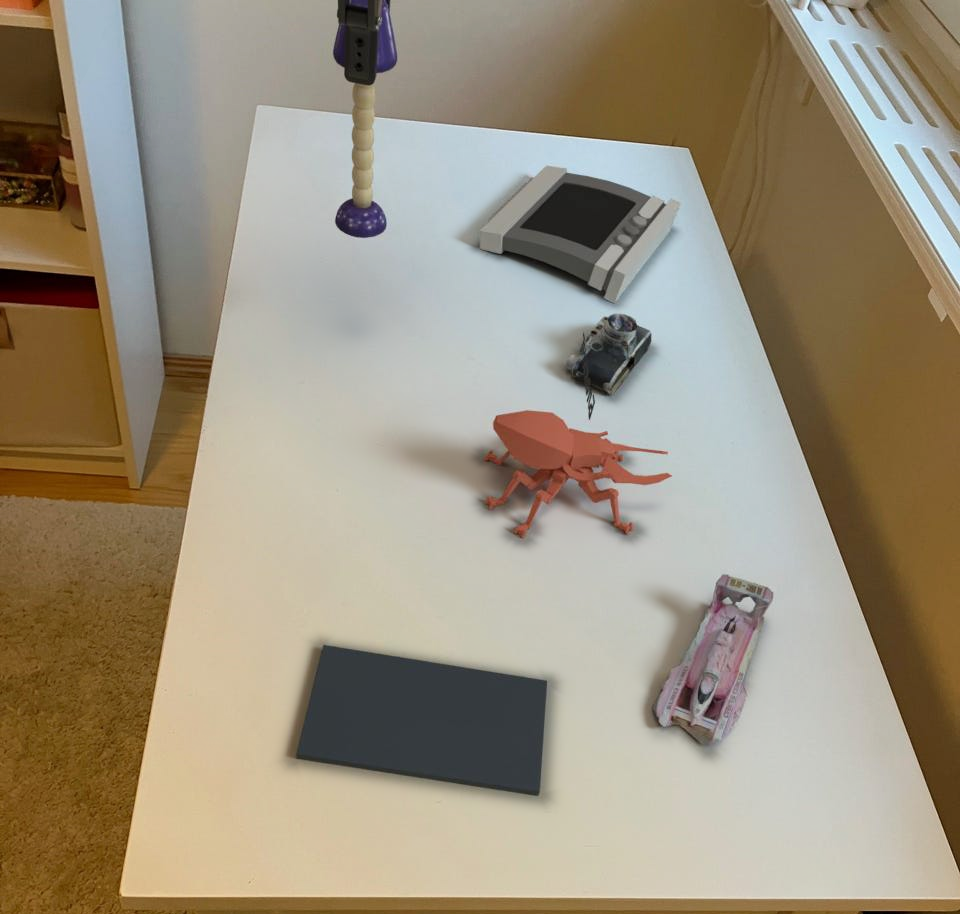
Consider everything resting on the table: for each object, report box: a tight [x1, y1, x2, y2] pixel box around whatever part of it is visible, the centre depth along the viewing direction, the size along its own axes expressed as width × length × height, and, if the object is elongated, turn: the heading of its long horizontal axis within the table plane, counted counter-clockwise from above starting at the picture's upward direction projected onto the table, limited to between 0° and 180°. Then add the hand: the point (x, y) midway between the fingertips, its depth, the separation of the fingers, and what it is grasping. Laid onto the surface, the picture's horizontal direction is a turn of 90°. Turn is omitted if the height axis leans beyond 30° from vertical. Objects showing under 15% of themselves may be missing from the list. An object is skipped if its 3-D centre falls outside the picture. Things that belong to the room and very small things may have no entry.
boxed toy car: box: [652, 574, 774, 747], centre depth 72 cm, size 13×6×4 cm, turn 155°
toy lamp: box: [332, 0, 398, 239], centre depth 76 cm, size 5×5×17 cm
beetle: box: [483, 331, 673, 539], centre depth 79 cm, size 15×12×13 cm
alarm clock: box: [479, 165, 682, 304], centre depth 106 cm, size 17×5×16 cm
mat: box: [296, 644, 548, 797], centre depth 68 cm, size 16×9×1 cm, turn 84°
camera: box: [565, 313, 652, 396], centre depth 93 cm, size 5×10×4 cm, turn 150°
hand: (366, 65), depth 73 cm, fingers closed on toy lamp, 4 cm apart
